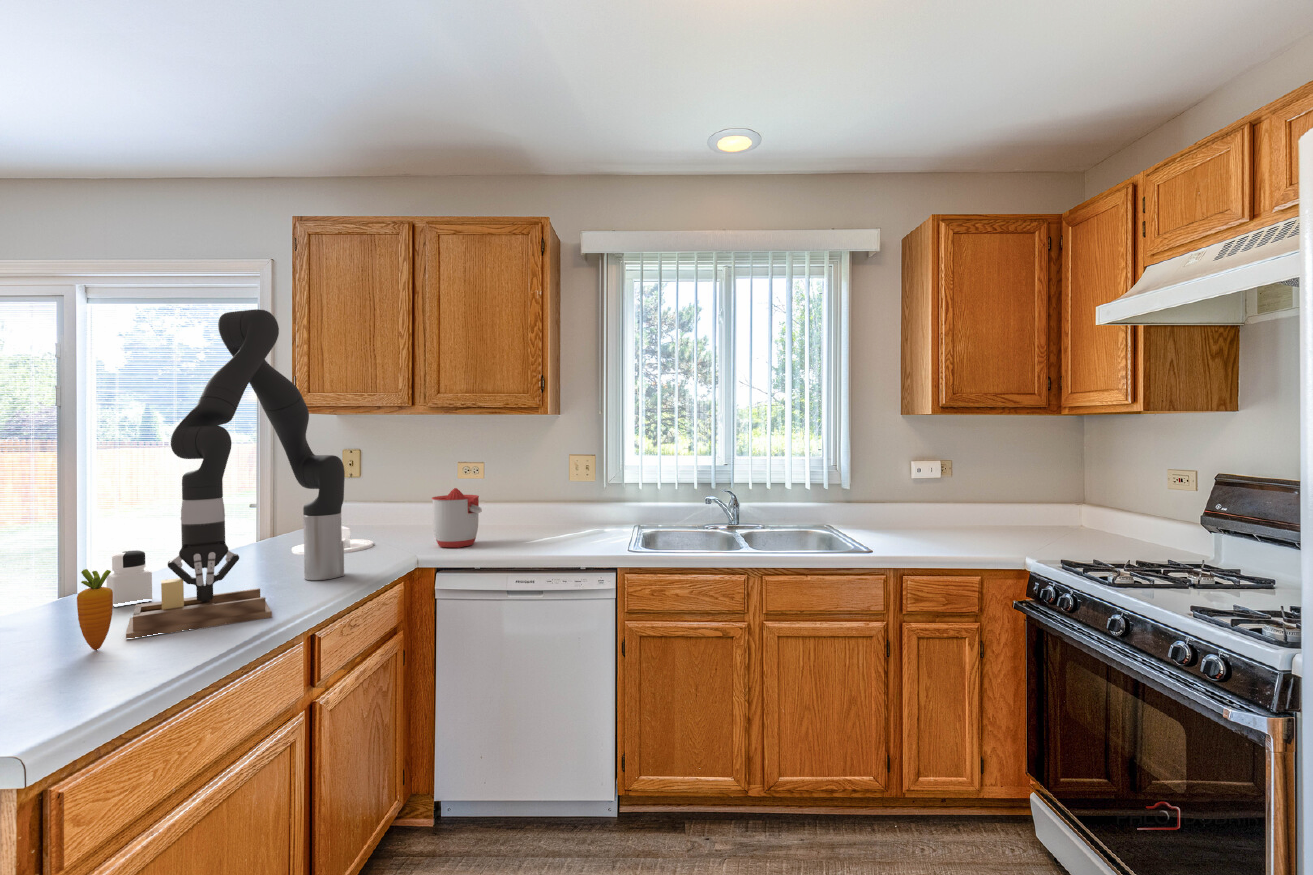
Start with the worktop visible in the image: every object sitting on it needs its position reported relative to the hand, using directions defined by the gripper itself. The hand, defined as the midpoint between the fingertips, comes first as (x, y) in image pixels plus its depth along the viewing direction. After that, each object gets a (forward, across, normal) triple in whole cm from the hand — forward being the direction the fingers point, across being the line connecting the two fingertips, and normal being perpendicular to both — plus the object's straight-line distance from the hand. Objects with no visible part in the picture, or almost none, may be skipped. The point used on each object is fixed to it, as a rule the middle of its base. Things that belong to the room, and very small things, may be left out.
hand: (205, 602), depth 136 cm
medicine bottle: (+4, -14, +29) cm, 33 cm away
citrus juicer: (+4, +74, +53) cm, 91 cm away
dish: (+4, +39, +77) cm, 86 cm away
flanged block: (+3, -6, 0) cm, 6 cm away
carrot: (+4, -17, -11) cm, 20 cm away
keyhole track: (+4, -1, 0) cm, 4 cm away
